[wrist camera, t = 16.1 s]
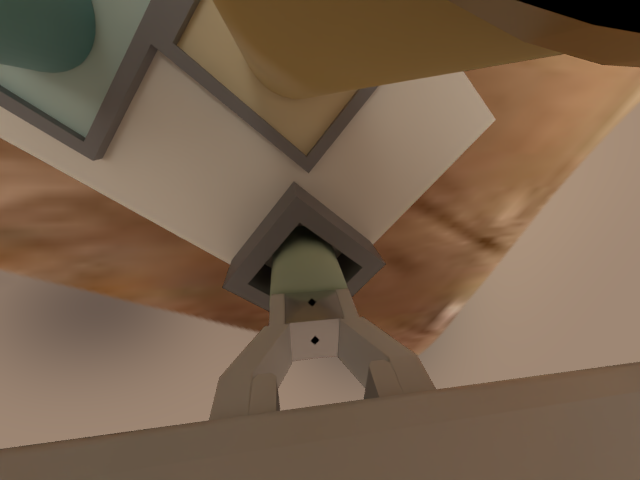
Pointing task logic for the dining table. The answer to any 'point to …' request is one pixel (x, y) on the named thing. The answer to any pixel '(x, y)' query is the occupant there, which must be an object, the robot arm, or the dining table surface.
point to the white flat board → (236, 140)
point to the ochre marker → (419, 38)
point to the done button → (305, 265)
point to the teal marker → (46, 33)
